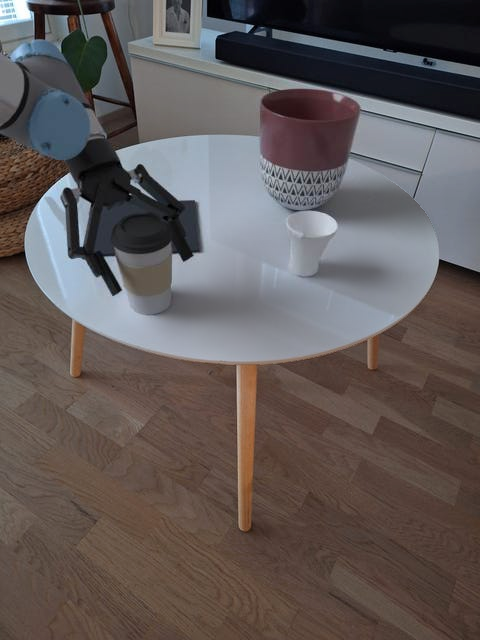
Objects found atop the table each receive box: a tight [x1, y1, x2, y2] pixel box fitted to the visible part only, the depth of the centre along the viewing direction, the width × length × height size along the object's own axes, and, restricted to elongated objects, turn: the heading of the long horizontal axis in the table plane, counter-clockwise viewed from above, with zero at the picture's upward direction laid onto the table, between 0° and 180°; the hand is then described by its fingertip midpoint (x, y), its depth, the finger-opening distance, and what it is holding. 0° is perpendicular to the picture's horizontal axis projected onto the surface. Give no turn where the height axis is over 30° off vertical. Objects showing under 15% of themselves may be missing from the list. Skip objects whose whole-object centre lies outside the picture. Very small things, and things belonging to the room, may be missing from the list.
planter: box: [259, 88, 362, 211], centre depth 97 cm, size 20×20×21 cm
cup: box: [285, 210, 339, 278], centre depth 82 cm, size 9×9×10 cm
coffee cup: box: [111, 212, 173, 316], centre depth 72 cm, size 9×9×15 cm
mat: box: [94, 199, 201, 257], centre depth 95 cm, size 22×20×1 cm
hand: (154, 275), depth 72 cm, fingers open, 13 cm apart
